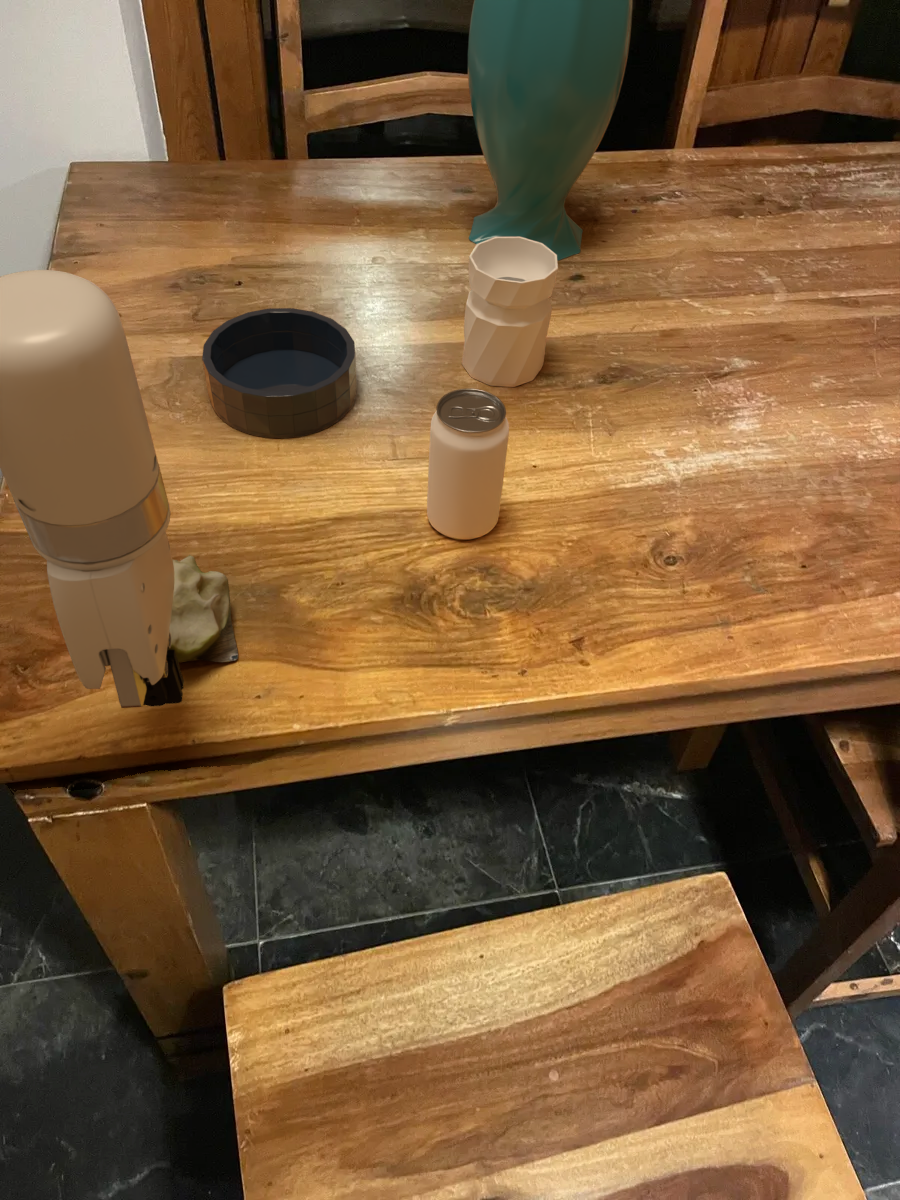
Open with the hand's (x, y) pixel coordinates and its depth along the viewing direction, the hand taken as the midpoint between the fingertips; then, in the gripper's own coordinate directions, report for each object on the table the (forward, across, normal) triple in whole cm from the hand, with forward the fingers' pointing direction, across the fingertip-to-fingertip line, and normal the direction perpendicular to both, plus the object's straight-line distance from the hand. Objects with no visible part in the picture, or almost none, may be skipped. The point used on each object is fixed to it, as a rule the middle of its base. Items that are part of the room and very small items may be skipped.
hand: (160, 694), depth 65 cm
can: (+5, -21, +24) cm, 32 cm away
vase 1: (+5, -71, +38) cm, 80 cm away
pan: (+4, -40, +8) cm, 41 cm away
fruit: (+5, -9, 0) cm, 10 cm away
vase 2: (+5, -44, +31) cm, 54 cm away
